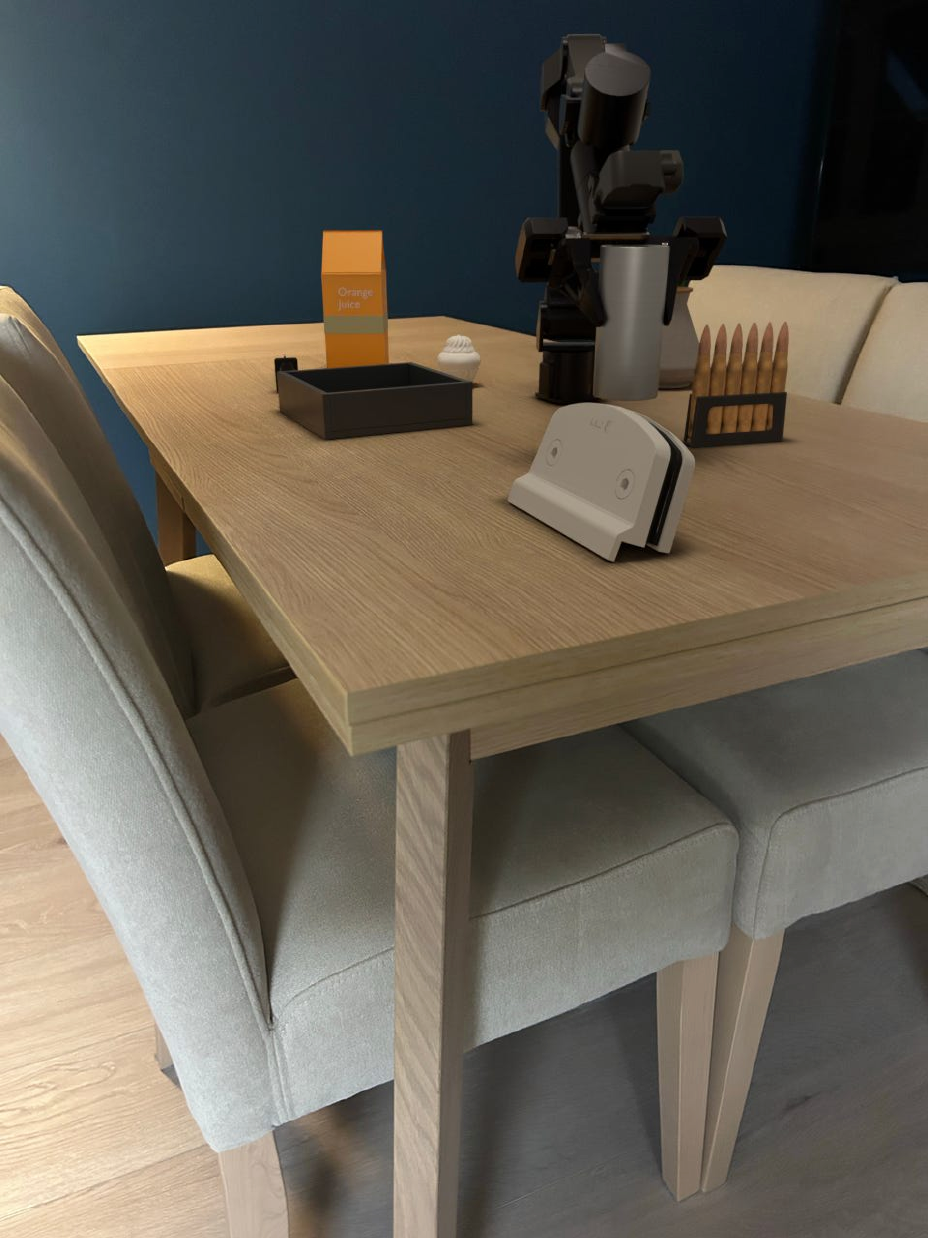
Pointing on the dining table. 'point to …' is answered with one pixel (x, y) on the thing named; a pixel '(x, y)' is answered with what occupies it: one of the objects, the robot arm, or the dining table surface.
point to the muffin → (459, 358)
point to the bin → (374, 399)
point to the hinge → (607, 479)
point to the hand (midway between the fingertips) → (634, 323)
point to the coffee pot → (679, 345)
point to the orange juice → (354, 298)
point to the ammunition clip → (738, 390)
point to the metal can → (630, 321)
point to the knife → (285, 365)
